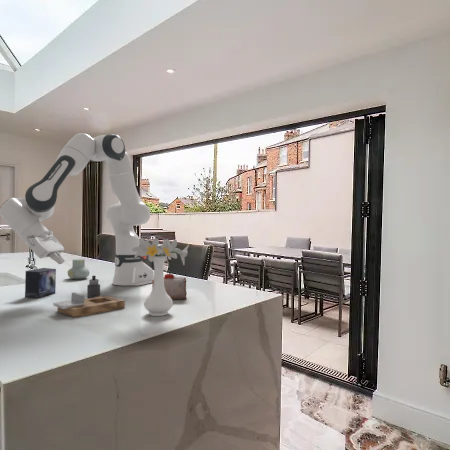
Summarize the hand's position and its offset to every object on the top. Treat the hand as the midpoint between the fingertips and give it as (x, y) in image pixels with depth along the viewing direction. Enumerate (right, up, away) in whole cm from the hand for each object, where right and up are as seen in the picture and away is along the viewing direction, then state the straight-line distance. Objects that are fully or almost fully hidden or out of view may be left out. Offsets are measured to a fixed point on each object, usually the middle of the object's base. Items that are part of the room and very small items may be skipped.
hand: (62, 262), depth 136 cm
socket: (+15, -15, -12) cm, 25 cm away
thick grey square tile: (+10, -12, -18) cm, 24 cm away
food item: (+39, -15, +7) cm, 42 cm away
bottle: (+11, -14, +1) cm, 18 cm away
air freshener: (-15, -14, +52) cm, 56 cm away
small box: (-13, -14, +10) cm, 22 cm away
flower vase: (+40, -15, -17) cm, 46 cm away
